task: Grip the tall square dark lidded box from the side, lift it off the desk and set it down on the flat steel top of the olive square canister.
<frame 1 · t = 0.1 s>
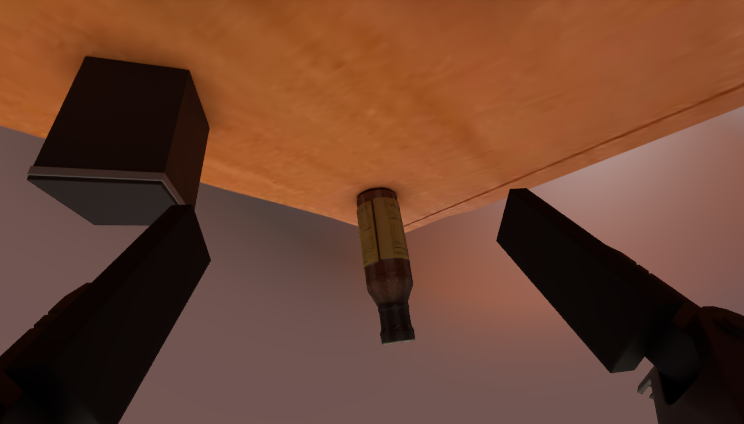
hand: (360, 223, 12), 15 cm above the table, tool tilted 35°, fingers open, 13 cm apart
dark lidded box: (156, 97, 24), on the table
sauce bottle: (377, 195, 43), on the table
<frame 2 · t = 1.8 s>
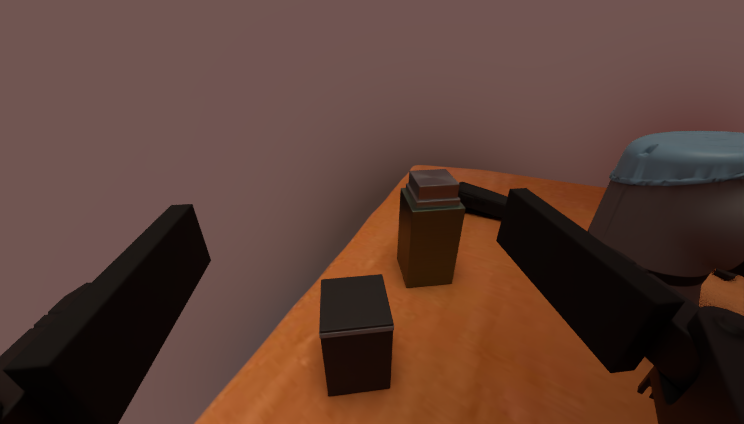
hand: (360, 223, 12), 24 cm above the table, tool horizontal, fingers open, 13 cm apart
dark lidded box: (357, 363, 33), on the table
walkie-talkie: (460, 209, 64), on the table
olive square canister: (422, 270, 46), on the table
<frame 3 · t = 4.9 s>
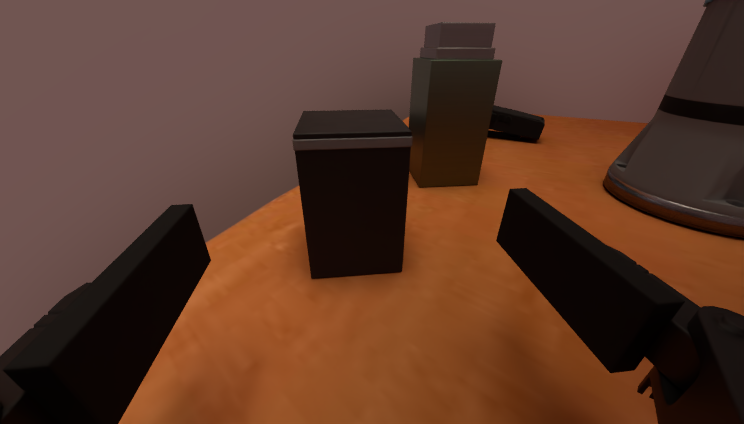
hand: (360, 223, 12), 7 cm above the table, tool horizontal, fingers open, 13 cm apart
dark lidded box: (354, 248, 23), on the table
walkie-talkie: (479, 135, 55), on the table
olive square canister: (439, 174, 37), on the table
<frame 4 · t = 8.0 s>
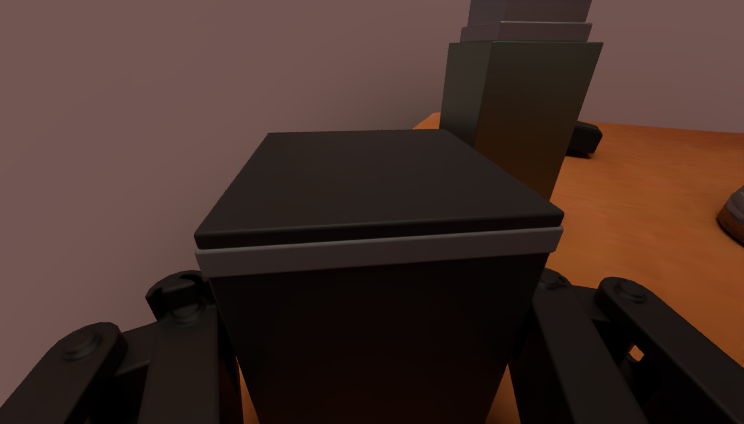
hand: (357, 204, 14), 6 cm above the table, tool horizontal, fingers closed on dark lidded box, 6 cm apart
dark lidded box: (369, 381, 13), on the table, touching gripper
walkie-talkie: (512, 146, 44), on the table
olive square canister: (480, 209, 26), on the table
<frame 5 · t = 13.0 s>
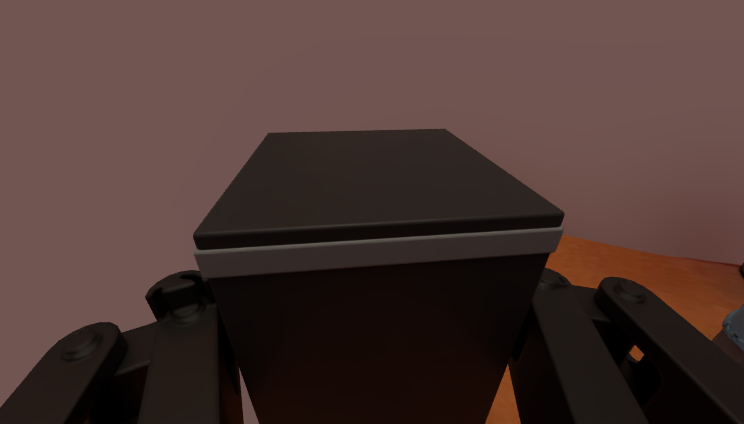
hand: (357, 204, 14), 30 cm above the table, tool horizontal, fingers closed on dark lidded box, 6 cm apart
dark lidded box: (369, 382, 13), point 24 cm above the table, touching gripper
when the fingers open (22 cm above the table, at t = 18.0 s): dark lidded box stays where it is, resting on olive square canister.
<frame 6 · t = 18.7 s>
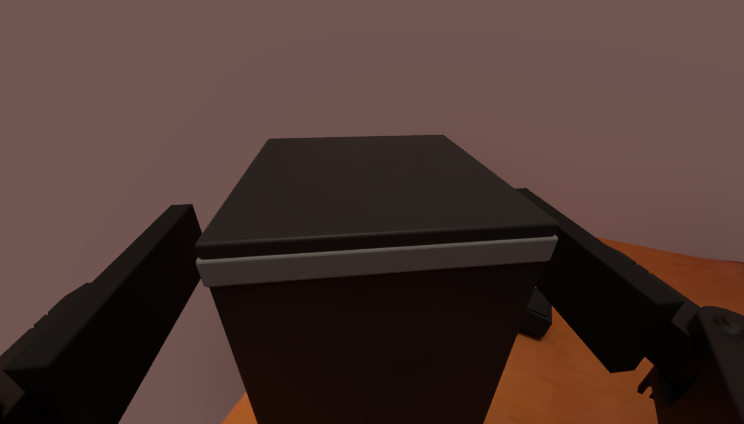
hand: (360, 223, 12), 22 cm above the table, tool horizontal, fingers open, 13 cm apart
dark lidded box: (368, 385, 13), point 16 cm above the table, touching olive square canister
walkie-talkie: (458, 300, 38), on the table
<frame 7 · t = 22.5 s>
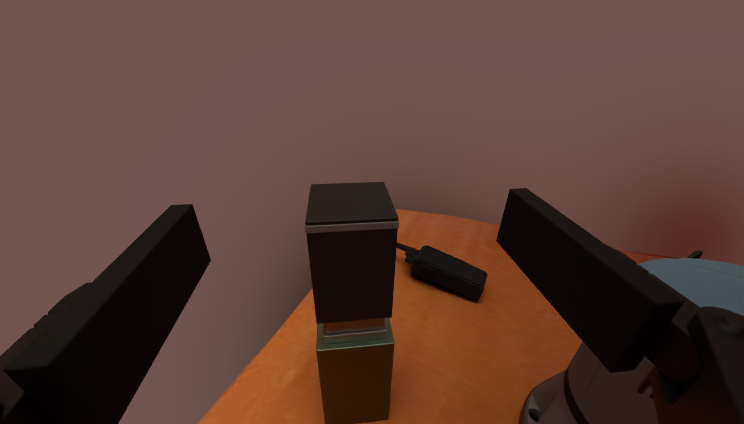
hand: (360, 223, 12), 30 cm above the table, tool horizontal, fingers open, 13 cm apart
dark lidded box: (352, 293, 27), point 16 cm above the table, touching olive square canister
walkie-talkie: (425, 277, 53), on the table
olive square canister: (355, 391, 35), on the table
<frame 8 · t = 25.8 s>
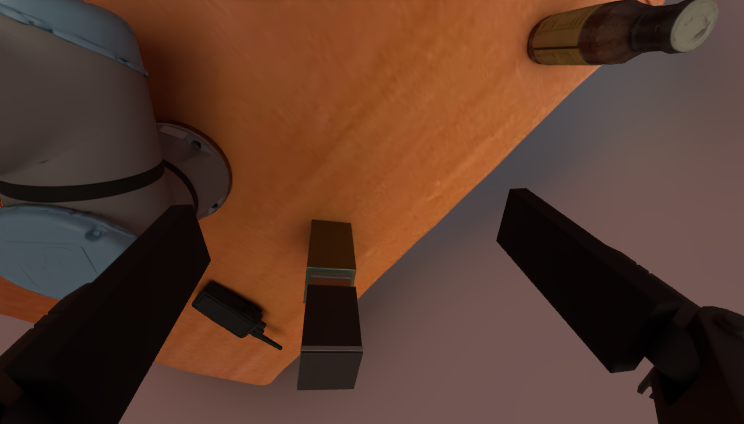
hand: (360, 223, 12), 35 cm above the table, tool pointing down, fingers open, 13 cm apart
dark lidded box: (329, 302, 40), point 16 cm above the table, touching olive square canister
sauce bottle: (545, 39, 42), on the table
walkie-talkie: (250, 307, 60), on the table
olive square canister: (329, 237, 54), on the table
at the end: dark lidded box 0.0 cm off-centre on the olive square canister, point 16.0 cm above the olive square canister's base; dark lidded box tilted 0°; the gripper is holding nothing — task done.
